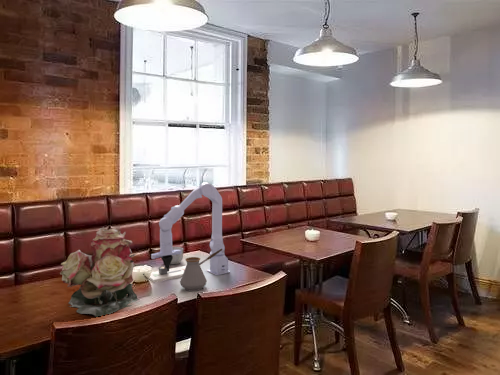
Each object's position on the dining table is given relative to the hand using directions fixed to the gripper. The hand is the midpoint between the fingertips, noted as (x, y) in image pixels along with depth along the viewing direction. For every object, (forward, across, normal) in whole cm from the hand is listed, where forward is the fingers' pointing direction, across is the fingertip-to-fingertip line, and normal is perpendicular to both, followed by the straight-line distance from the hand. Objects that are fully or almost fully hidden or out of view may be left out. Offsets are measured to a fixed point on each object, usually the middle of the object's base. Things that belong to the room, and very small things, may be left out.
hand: (167, 271), depth 195 cm
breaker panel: (+2, -2, 0) cm, 3 cm away
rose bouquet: (+2, +34, +19) cm, 39 cm away
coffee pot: (+2, -7, +23) cm, 24 cm away
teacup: (+2, -11, -17) cm, 21 cm away
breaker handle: (+1, +2, 0) cm, 2 cm away
